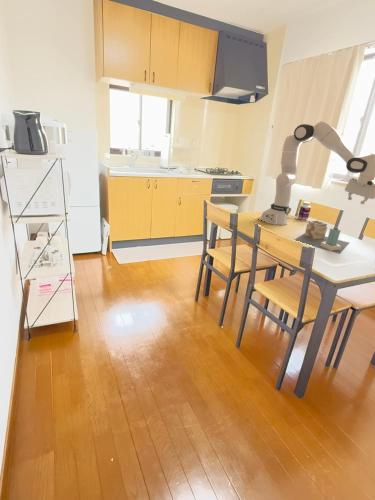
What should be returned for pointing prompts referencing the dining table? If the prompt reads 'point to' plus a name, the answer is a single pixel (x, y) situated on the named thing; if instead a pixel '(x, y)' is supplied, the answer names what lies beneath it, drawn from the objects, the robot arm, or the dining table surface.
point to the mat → (317, 242)
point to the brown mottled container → (316, 229)
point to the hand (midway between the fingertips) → (355, 201)
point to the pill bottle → (304, 211)
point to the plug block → (333, 236)
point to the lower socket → (330, 246)
